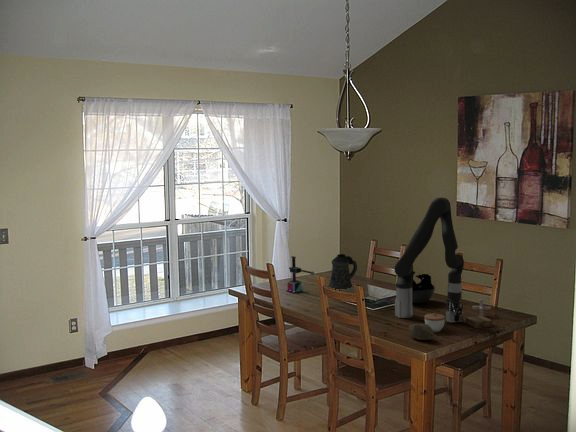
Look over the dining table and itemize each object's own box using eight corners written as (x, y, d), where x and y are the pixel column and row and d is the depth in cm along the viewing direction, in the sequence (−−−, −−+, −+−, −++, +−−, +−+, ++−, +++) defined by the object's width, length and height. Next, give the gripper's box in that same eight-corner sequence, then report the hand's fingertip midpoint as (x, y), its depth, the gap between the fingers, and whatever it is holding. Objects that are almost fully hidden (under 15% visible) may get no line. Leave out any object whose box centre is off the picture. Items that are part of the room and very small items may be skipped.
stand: (475, 328, 340) (475, 322, 340) (464, 322, 351) (464, 317, 351) (493, 325, 343) (493, 320, 343) (481, 320, 354) (482, 315, 354)
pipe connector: (490, 314, 365) (490, 297, 364) (490, 319, 356) (490, 301, 355) (472, 313, 368) (472, 296, 367) (471, 318, 359) (471, 300, 358)
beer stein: (323, 291, 434) (322, 255, 431) (342, 285, 447) (341, 251, 444) (341, 294, 422) (340, 258, 419) (360, 289, 435) (359, 253, 432)
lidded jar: (444, 327, 344) (444, 310, 343) (445, 333, 333) (445, 316, 332) (424, 326, 346) (424, 310, 345) (424, 332, 336) (424, 315, 335)
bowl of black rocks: (435, 307, 384) (435, 277, 381) (402, 306, 387) (401, 276, 385) (434, 299, 403) (433, 270, 401) (402, 298, 407) (401, 270, 405)
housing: (450, 322, 349) (450, 312, 348) (445, 320, 353) (446, 309, 353) (463, 321, 351) (463, 310, 350) (458, 318, 355) (458, 308, 355)
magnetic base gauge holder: (282, 290, 439) (281, 256, 436) (292, 288, 445) (291, 254, 442) (306, 296, 420) (305, 260, 417) (316, 294, 426) (315, 258, 423)
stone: (440, 340, 322) (440, 325, 321) (429, 344, 317) (429, 329, 316) (414, 333, 335) (413, 319, 334) (403, 337, 330) (402, 322, 329)
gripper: (441, 288, 356) (441, 317, 358) (455, 293, 342) (454, 324, 344) (453, 286, 357) (453, 316, 360) (467, 292, 344) (467, 323, 346)
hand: (454, 319), depth 352 cm, fingers closed on housing, 5 cm apart
